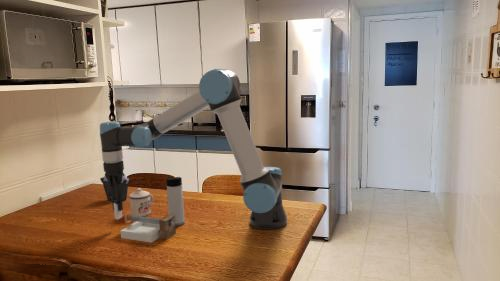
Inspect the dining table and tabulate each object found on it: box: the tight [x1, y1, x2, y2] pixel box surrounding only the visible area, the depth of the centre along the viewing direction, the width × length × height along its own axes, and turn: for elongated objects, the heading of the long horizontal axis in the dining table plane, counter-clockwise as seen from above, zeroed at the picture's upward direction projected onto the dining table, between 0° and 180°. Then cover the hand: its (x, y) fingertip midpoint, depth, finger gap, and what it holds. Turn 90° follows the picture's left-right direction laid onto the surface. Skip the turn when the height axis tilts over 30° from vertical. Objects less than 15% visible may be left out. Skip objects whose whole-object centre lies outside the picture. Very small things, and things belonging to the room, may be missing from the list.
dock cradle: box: [120, 221, 160, 243], centre depth 152 cm, size 14×14×3 cm
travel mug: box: [165, 176, 186, 227], centre depth 159 cm, size 6×7×20 cm
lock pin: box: [123, 211, 174, 226], centre depth 150 cm, size 21×4×4 cm, turn 68°
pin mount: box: [159, 214, 176, 240], centre depth 148 cm, size 3×6×7 cm, turn 158°
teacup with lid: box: [128, 187, 154, 217], centre depth 174 cm, size 12×9×12 cm
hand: (118, 217), depth 156 cm, fingers closed
